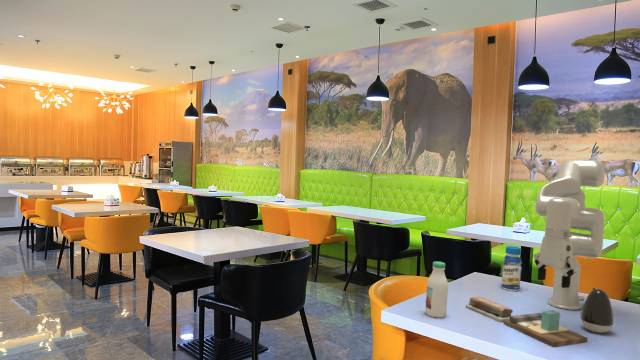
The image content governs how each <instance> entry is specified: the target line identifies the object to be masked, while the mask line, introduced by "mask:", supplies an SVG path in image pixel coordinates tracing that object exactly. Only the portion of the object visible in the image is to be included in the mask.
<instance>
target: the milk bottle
mask: <svg viewBox="0 0 640 360" xmlns="http://www.w3.org/2000/svg"><path fill="white" fill-rule="evenodd" d="M445 270H446V262H442V261H433V262H432V272H431V274H430V276H429V278H428V279H427V286H426V296H425V308H424V309H425V310H424V312H425V314H426V315H427V316H429V317H432V318H438V319H439V318H440V319H441V318H442V319H443V318H445V317H446V316H447V307H448V294H449V293H448V291H449V283H448V280H447V277H446V274H445Z"/></svg>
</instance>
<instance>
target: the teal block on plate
mask: <svg viewBox="0 0 640 360" xmlns="http://www.w3.org/2000/svg"><path fill="white" fill-rule="evenodd" d="M541 313H542V319H541V325H536V326H528V327H526V328H527V329H529V330H532V331H534V332H536V333H538V334H548V333H556V332H563V331H568V330H569V329H567V328H566V327H563V326H561V325H560V317H561V313H560V312H558V311H556V310H553V309H550V310H542V311H541Z"/></svg>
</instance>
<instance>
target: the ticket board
mask: <svg viewBox="0 0 640 360" xmlns="http://www.w3.org/2000/svg"><path fill="white" fill-rule="evenodd" d="M541 319H542V312H534V313H527V314H517V315H513V316H510V318H509V320H504V322H503V325H505V326H507V327H509V328H511V329H513V330H516V331H518V332H520V333H523V334H524V335H526V336H528V337H531V338H533V339H535V340H536V341H539V342H541V343H544V344H546V345H547V346H550V347H552V348H554V347H555V348H557V347H561V346H567V345H577V344H581V343H587V342H588V337H587V336H585V335H583V334H580V333H577V332H574V331H573V330H570V329H568V331H563V332H556V333H548V334H538V333H536V332H534V331H532V330H529V329H527V328H526V327H528V326H536V325H541Z"/></svg>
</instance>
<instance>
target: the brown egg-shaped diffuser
mask: <svg viewBox="0 0 640 360" xmlns="http://www.w3.org/2000/svg"><path fill="white" fill-rule="evenodd" d="M580 319H581V323H582V325H583V327H584V328H585V329H587V331H590V332H592V333H596V334H597V333H598V334H605V333H607V332H609V331H610V330H611V329H612V327H613V325H614V322H615V321H614V311H613V306H612V304H611V300H610V297H609V294H607V292H606V291H605V290H603V289H601V288H595V287H593V288H592V290H591V291H590V292H589V293H588V295H587V296H586V298H585V300H584V303H583V306H582V308H581V313H580Z"/></svg>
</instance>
